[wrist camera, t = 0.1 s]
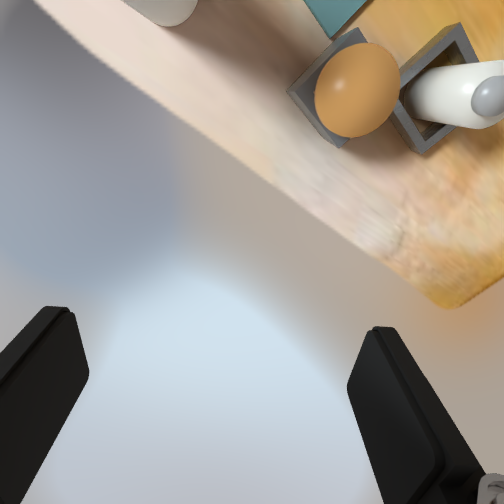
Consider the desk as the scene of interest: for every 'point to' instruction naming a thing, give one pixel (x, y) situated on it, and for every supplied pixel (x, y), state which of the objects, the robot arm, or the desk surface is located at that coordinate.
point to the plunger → (357, 90)
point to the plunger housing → (307, 82)
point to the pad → (333, 13)
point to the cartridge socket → (447, 40)
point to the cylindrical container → (164, 10)
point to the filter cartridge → (458, 94)
